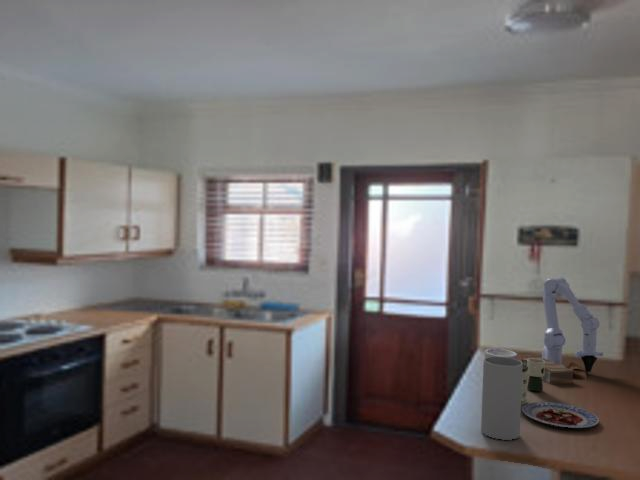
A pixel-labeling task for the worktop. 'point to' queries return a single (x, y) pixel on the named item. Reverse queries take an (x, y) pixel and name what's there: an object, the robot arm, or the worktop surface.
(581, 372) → the sunglasses case
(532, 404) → the ceramic plate
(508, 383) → the cylinder vase
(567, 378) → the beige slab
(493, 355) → the paper bowls
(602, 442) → the worktop surface
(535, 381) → the character mug
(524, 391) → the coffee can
